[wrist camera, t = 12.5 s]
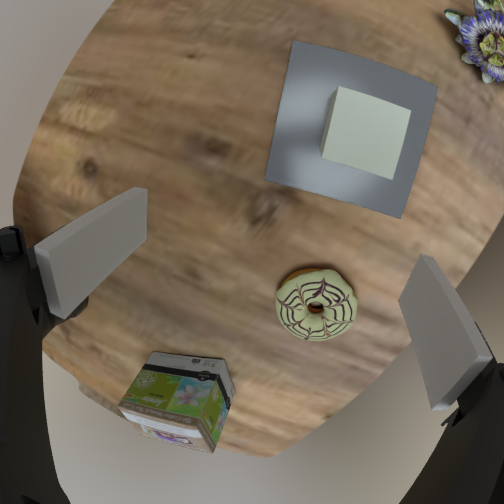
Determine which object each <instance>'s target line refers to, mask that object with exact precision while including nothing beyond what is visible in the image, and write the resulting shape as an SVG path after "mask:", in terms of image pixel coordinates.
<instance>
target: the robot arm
mask: <svg viewBox="0 0 504 504" xmlns="http://www.w3.org/2000/svg"><path fill="white" fill-rule="evenodd" d="M147 193H148V189H145V188H139V187H133V188H131V189H129V190H127V191H125V192H123V193H121V194H119V195H118V196H116V197H114V198H112V199H110V200H108V201H107V202H105V203H103V204H101V205H99V206H98V207H96V208H94V209H92V210H91V211H89V212H87V213H85V214H84V215H82V216H80V217H79V218H77V219H75V220H74V221H72V222H70V223H69V224H67V225H65V226H63V227H61V228H60V229H58V230H56V231H55V232H53V233H52V234H50V235H49V236H48V237H45V238H44V239H42V240H41V241H39V242H38V243H36V244H35V245H33V246H32V247H31V248H29V249H28V250H27V249H26V244H25V239H24V234H23V229H22V228H21V227H19V226H9V227H4V228H2V229H0V504H70V501H69V499H68V497H67V496H66V494H65V493H64V491H63V490H62V488H61V486H60V484H59V481H58V478H57V474H56V470H55V465H54V461H53V456H52V451H51V446H50V440H49V434H48V427H47V420H46V411H45V402H44V389H43V371H42V340H43V339H44V338H45V336H46V335H47V334H48V333H49V332H50V331H51V330H52V329H53V328H54V327H55V326H56V325H58V324H60V323H62V322H64V321H66V320H68V319H70V318H73V317H76V316H78V315H79V314H80V313H81V312H82V311H83V310H84V309H85V308H86V306H87V303H88V295H89V294H90V293H91V292H92V291H93V290H94V289H95V288H96V287H97V286H98V285H99V284H100V283H101V282H102V281H104V280H105V279H106V278H107V277H108V276H109V275H110V274H111V273H112V272H113V271H114V270H115V269H116V268H117V267H118V266H119V265H120V264H121V263H122V262H124V261H125V260H126V259H127V258H128V257H129V256H130V255H131V254H132V253H133V252H134V251H135V250H137V249H138V248H139V247H140V246H141V245H142V244H143V243H144V242H145V241H147ZM398 302H399V305H400V307H401V310H402V313H403V316H404V318H405V321H406V324H407V327H408V330H409V333H410V336H411V339H412V342H413V345H414V348H415V351H416V355H417V358H418V361H419V365H420V368H421V371H422V375H423V379H424V382H425V386H426V390H427V394H428V398H429V402H430V406H431V410H447V409H448V408H449V407H450V406H451V405H452V404H453V403H454V402H455V401H456V400H457V401H458V405H459V407H458V408H457V409H456V410H455V411H454V412H453V413H452V414H451V415H450V416H449V417H448V418H447V419H446V420H445V421H444V422H443V423H442V424H441V426H444V425H445V423H448V425H447V427H446V428H445V431H444V432H443V434H442V436H441V438H440V440H439V442H438V444H437V446H436V448H435V449H434V451H433V453H432V455H431V456H430V458H429V460H428V461H427V463H426V465H425V466H424V468H423V469H422V471H421V473H420V474H419V476H418V477H417V479H416V480H415V482H414V483H413V485H412V486H411V488H410V489H409V491H408V492H407V493H406V495H405V496H404V498H403V499H402V500H401V502H400V503H399V504H504V363H497V361H496V359H495V357H494V355H493V354H492V351H491V350H490V347H489V346H488V344H487V342H486V341H485V338H484V336H483V335H482V334H481V333H482V332H481V331H480V329H479V327H478V325H477V324H476V323H475V321H474V320H473V319H472V317H471V316H470V314H469V312H468V310H467V309H466V307H465V305H464V304H463V302H462V300H461V299H460V297H459V296H458V294H457V292H456V291H455V289H454V288H453V286H452V285H451V283H450V282H449V280H448V279H447V277H446V276H445V274H444V273H443V271H442V270H441V268H440V267H439V265H438V264H437V262H436V261H435V260H434V258H433V257H430V256H427V255H424V254H420V255H419V257H418V260H417V262H416V264H415V266H414V269H413V271H412V273H411V275H410V277H409V280H408V282H407V284H406V286H405V288H404V290H403V292H402V294H401V296H400V298H399V300H398Z"/></svg>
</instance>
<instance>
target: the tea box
mask: <svg viewBox="0 0 504 504" xmlns="http://www.w3.org/2000/svg"><path fill="white" fill-rule="evenodd" d="M234 395H235V389H234V387H233V384H232V381H231V378H230V375H229V372H228V369H227V366H226V363H225V361H224V360H218V359H208V358H199V357H188V356H182V355H173V354H167V353H160V352H153V353H152V354H151V356H150V357H149V358H148V360H147V361H146V363H145V364H144V366H143V367H142V369H141V371H140V372H139V374H138V375H137V377H136V378H135V380H134V381H133V383H132V384H131V386H130V388H129V389H128V391H127V392H126V394H125V395H124V397H123V398H122V400H121V402H120V403H119V405H118V408H119V409H120V410H121V412H122V413H123V414H124V415H125V417H126V418H127V419H128V420H129V422H130V423H131V424H132V425H133V426H134V428H135V429H136V430H137V431H138V432H139V433H140V435H143V436H146V437H149V438H153V439H156V440H159V441H162V442H166V443H170V444H174V445H177V446H181V447H186V448H190V449H194V450H198V451H203V452H208V453H213V452H214V450H215V447H216V445H217V442H218V439H219V437H220V434H221V431H222V429H223V426H224V423H225V420H226V417H227V415H228V412H229V409H230V406H231V403H232V401H233V398H234Z"/></svg>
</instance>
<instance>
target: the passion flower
mask: <svg viewBox="0 0 504 504" xmlns="http://www.w3.org/2000/svg"><path fill="white" fill-rule="evenodd" d="M488 2H489V3H488ZM489 4H490V5H489ZM494 5H497V6H498V7H499V8H500V9H501V10H502V11H504V10H503V6H502V4H501V2H500V0H474V6H475V14H476V15H474V16H465V15H462V14H461V13H460V12H458V11H456V10H453V9H446V10H445V11H444V13H445V16H446V17H447V18H448V19H449V20H450V21H451V22H452V23H454V24H455V25H457V26H458V28H459V31H460V33H459V34H458V35H457V36H456V37H455V39H454V40H455V41H456V42H458V43H459V44H461V45H463V46H464V48H465V51H464V52H463V53H462V55H461V60H462V61H464V62H465V63H468V64H476V66H477V67H478V66H479V67H480V68H481V70H482V74H481V76H482V79H483V81H484V82H485V83H492V82H493V81H495V80H496V83H497V82H500V81H503V82H504V14H503V12H502V11H501V10H498V11H495V10H494ZM497 85H498V84H497Z"/></svg>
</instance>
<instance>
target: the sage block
mask: <svg viewBox="0 0 504 504" xmlns="http://www.w3.org/2000/svg"><path fill="white" fill-rule="evenodd" d="M410 114H411V110H408V109H406V108H403V107H401V106H398V105H395V104H393V103H390V102H387V101H385V100H382V99H379V98H376V97H373V96H370V95H367V94H364V93H361V92H358V91H354V90H351V89H348V88H344V87H341V86H338V87H337V89H336V90H335V91H334V92H333V93H332V97H331V102H330V106H329V111H328V115H327V119H326V124H325V128H324V132H323V136H322V140H321V145H320V151H321V157H322V158H323V159H327V160H330V161H334V162H337V163H341V164H344V165H348V166H351V167H354V168H357V169H361V170H364V171H367V172H370V173H373V174H376V175H379V176H382V177H385V178H388V179H391V180H392V179H393V176H394V173H395V170H396V166H397V163H398V159H399V156H400V152H401V149H402V145H403V142H404V138H405V134H406V130H407V126H408V122H409V118H410Z"/></svg>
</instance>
